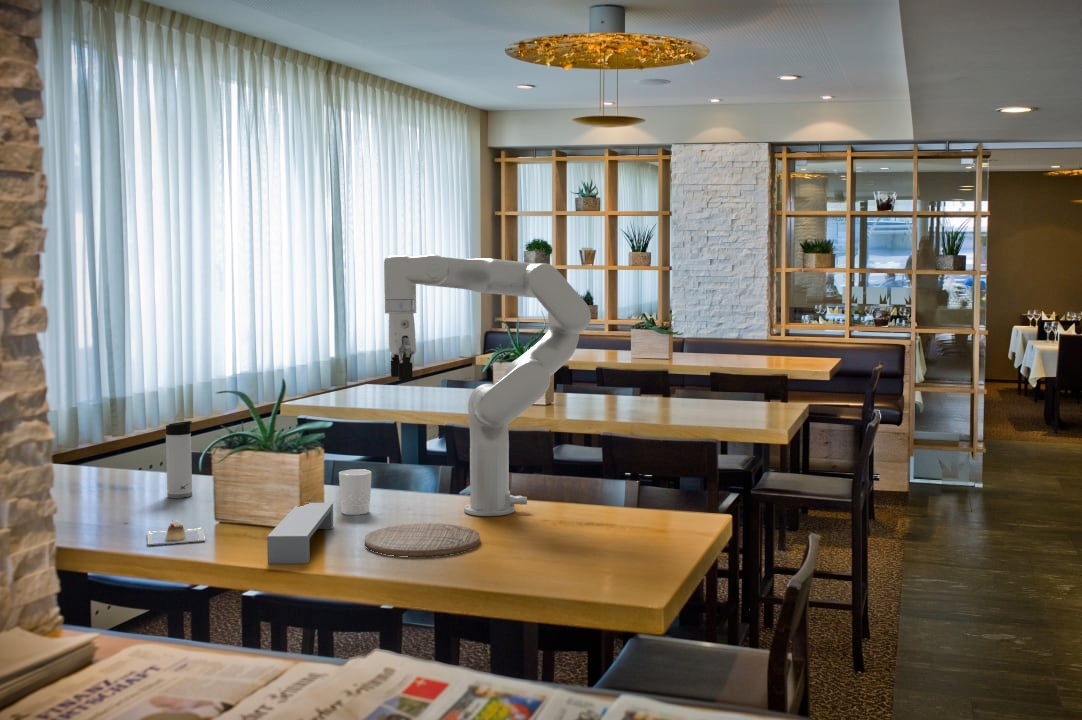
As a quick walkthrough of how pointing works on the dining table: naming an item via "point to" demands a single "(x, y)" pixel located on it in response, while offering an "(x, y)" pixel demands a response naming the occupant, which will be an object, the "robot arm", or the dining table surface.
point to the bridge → (298, 533)
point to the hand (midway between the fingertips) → (401, 378)
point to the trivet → (422, 540)
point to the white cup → (355, 491)
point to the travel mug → (179, 460)
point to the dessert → (175, 534)
